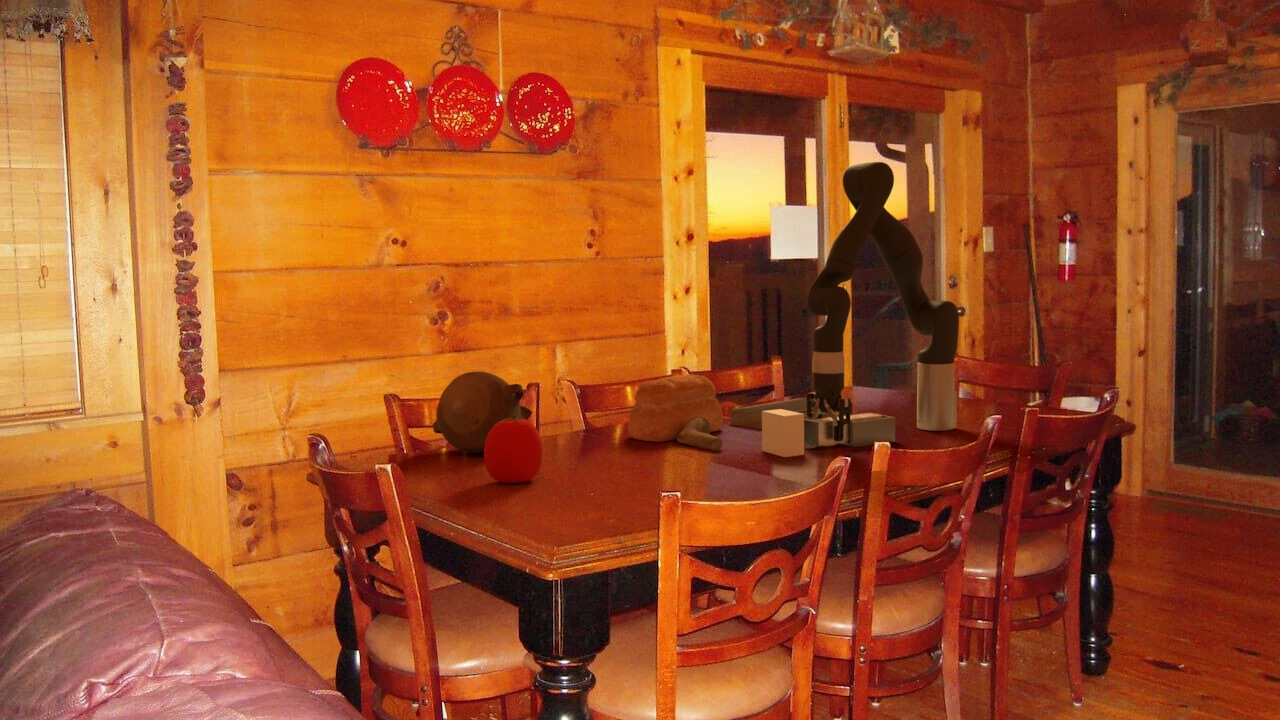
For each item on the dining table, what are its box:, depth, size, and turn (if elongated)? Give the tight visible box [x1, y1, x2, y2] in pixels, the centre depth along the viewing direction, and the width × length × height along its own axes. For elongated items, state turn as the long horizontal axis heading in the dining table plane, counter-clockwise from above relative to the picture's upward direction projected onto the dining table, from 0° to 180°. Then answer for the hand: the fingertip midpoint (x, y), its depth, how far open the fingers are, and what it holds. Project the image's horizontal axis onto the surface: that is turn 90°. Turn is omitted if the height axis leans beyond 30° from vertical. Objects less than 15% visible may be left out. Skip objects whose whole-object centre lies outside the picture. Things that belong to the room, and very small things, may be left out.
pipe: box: [676, 416, 724, 452], centre depth 261 cm, size 6×17×10 cm
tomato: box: [483, 415, 544, 484], centre depth 223 cm, size 13×11×14 cm
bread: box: [627, 373, 724, 443], centre depth 276 cm, size 14×26×15 cm, turn 134°
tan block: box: [761, 409, 805, 458], centre depth 249 cm, size 6×9×10 cm, turn 28°
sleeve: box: [837, 413, 896, 448], centre depth 260 cm, size 13×7×6 cm, turn 118°
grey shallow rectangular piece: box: [729, 397, 853, 430], centre depth 292 cm, size 29×19×5 cm, turn 131°
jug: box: [432, 370, 533, 454], centre depth 261 cm, size 20×20×30 cm
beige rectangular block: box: [804, 412, 883, 448], centre depth 257 cm, size 20×5×6 cm, turn 118°
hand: (828, 438), depth 255 cm, fingers open, 7 cm apart
